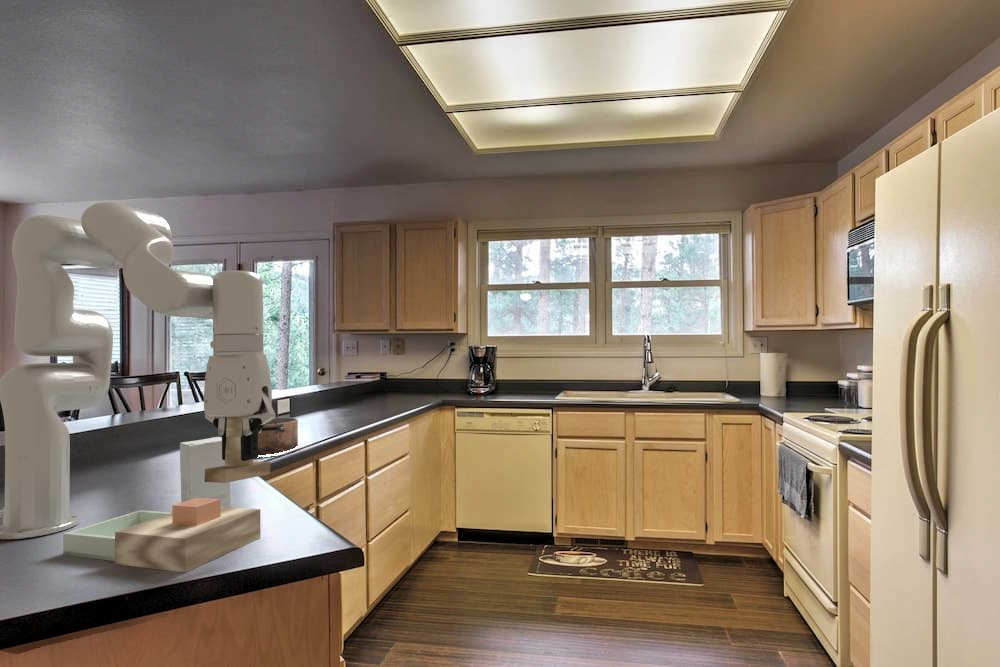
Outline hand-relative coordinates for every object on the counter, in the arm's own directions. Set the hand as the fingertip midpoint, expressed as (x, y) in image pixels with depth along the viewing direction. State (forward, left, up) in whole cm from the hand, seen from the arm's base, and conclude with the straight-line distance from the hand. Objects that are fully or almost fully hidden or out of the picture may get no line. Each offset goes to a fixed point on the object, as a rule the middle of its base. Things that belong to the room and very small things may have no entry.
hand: (240, 457), depth 90 cm
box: (-23, 0, -16) cm, 28 cm away
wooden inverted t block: (0, 0, -3) cm, 3 cm away
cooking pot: (-64, +82, -16) cm, 105 cm away
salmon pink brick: (-9, 0, -11) cm, 14 cm away
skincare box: (-27, +20, -16) cm, 37 cm away
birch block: (-10, 0, -16) cm, 18 cm away
